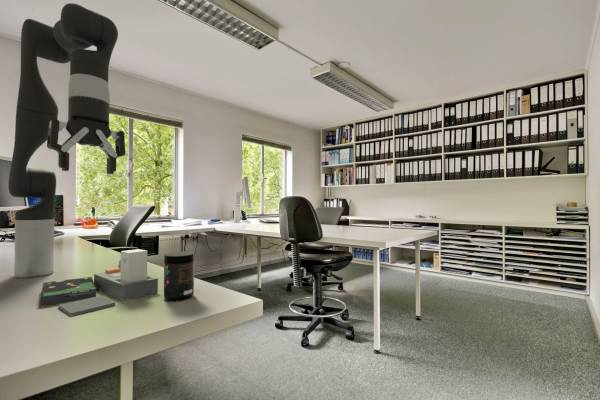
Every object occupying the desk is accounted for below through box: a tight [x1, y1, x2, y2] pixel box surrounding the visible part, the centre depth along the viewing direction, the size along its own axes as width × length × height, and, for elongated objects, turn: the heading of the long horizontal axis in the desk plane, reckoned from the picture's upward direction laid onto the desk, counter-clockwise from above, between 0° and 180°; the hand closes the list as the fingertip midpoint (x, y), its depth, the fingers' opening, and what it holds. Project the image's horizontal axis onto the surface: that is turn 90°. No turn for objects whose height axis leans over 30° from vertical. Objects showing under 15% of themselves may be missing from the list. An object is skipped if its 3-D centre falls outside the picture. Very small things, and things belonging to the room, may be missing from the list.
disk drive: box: [39, 276, 97, 307], centre depth 73 cm, size 10×3×15 cm
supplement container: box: [163, 251, 195, 302], centre depth 71 cm, size 7×7×10 cm
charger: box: [120, 248, 148, 284], centre depth 74 cm, size 4×4×8 cm
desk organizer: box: [93, 267, 159, 301], centre depth 79 cm, size 24×8×4 cm, turn 53°
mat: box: [57, 295, 116, 317], centre depth 64 cm, size 8×8×1 cm
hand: (88, 172), depth 67 cm, fingers open, 8 cm apart
